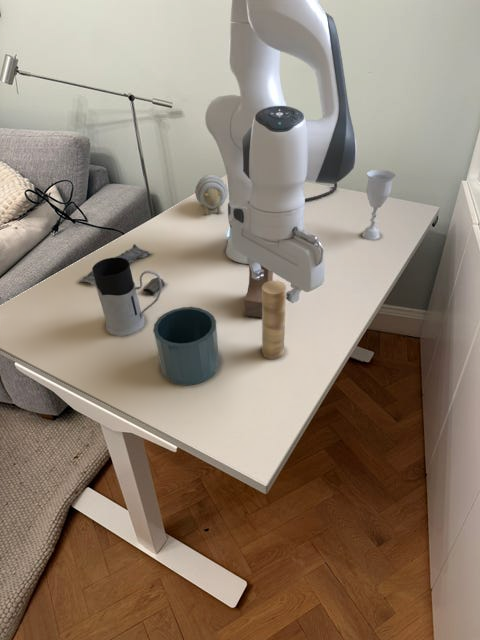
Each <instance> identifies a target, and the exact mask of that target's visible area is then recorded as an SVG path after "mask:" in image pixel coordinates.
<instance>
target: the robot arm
mask: <svg viewBox="0 0 480 640" xmlns="http://www.w3.org/2000/svg"><path fill="white" fill-rule="evenodd" d="M228 40H229V42H228V59H227V60H228V61H227V62H228V63H227V64H228V67H229V69H230V71H231V73H232V75H233V76H234V78H235V80H236V82H237V86H238V90H239V95H237V94H227V95H219V96H217V97H214V98H213V100H211V102H210V103H209V104H208V106H207V108H206V110H205V118H204V119H205V120H204V122H205V126H206V128H207V130H208V133H210V136H212V138H213V139H214V141H215V143H216V145H217V148H218V150H219V153H220V156H221V159H222V162H223V165H224V168H225V173H226V179H227V189H228V201H229V202H228V203H227V218H228V224H229V227H228V231H227V234H226V238H228V240H227V245H226V249H225V254H226V256H227V257H228V258H229V259H230V260H231V261H234V262H236V263H239V264H243V265H244V264H245V265H248V267H249V266H250V268H251V270H252V278H253V279H255V280H257V281H259V280H261V279H263V278H264V275H263V274H264V270H262V269H261V266H263V267H265V268H266V269H268V270H270V271H271V272H273V274H274V275H276V276H278V277H280V278H281V279H283V280H285V281H286V282H288V283H289V284H290V287H291V289H290V290H288V291H286V301H288V302H290V303H291V304H295V303H297V302H298V301H299V300H300V293H301V292H302V291H303V292H306V293H309V292H312V291H314V290H316V289H318V288H319V287H321V286H322V285H323V284H324V282H325V273H326V272H325V270H326V269H325V255H324V252H325V251H324V246H323V245H322V244H321V242H320V241H319V238H318V237H317V236H316V235H314V234H310V233H308V232H306V231H305V230H304V223H305V222H304V221H305V206H306V202H310V201H314V200H318V199H321V198H324V197H327V196H329V195H331V194H333V193H334V192H336V190H337V189H338V183H339V182H340V181H342V180H343V179H345V178H346V176H348V175H349V174H350V173H351V172H352V171H353V169H354V168H355V163H356V160H357V151H358V150H357V148H358V147H357V139H356V135H355V130H354V126H353V121H352V117H351V112H350V107H349V106H350V105H349V100H348V99H349V98H348V92H347V85H346V79H345V78H346V77H345V73H344V71H345V70H344V64H343V56H342V51H341V45H340V38H339V33H338V29H337V25H336V23H335V20H334V17H332V15H330V14H329V13H327V12H325V11H324V9H323V8H322V5H321V4H320V2H319V0H231V8H230V22H229V39H228ZM281 52H282V53H284V54H287V55H290V56H292V57H294V58H296V59H298V60H300V61H302V62H304V63H305V64H307V65H308V66H309V67H310V68H311V69H312V70H313V72H314V74H315V76H316V79H317V81H316V82H317V85H318V93H319V101H320V107H321V113H322V117H321V118H319V119H318V118H317V119H306V116H305V114H304V113H303V112H302V111H301V110H300V109H298V108H295V107H292V106H288V105H287V103H286V100H285V97H284V92H283V88H282V83H281V74H280V73H281V71H280V64H281V63H280V62H281ZM305 182H315V183H319V184H330V185H333V188H332V189H331V190H329V191H326V192H324V193H320V194H317V195H313V196H311V197H307V198H306V197H305V191H304V185H305ZM260 265H261V266H260Z"/></svg>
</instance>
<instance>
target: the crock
mask: <svg viewBox="0 0 480 640" xmlns="http://www.w3.org/2000/svg"><path fill="white" fill-rule="evenodd" d="M217 328H218V327H217V320H216V318H215V316H214V315H213V314H212V313H211V312H209V311H208V310H206V309H203V308H202V307H201V308H200V307H195V306H182V307H178V308H174V309H171V310H169V311H167V312H165V313H163V314H162V315H161V316H159V317H158V318H157V319H156V321H155V323H153V330H152V332H153V336H154V341H155V345H156V351H157V355H158V360H159V364H160V369H161V373H162V375H163V376H164V377H165V379H167V381H169V382H171V383H173V384H176V385H180V386H193V385H199V384H201V383H204V382H206V381H207V380H209V379H211V378H212V377H213V376H214V375H215V374H216V373H217V371H218V370H219V368H220V367H219V366H220V351H219V350H220V349H219V339H218V338H219V337H218V329H217Z"/></svg>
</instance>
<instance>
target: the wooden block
mask: <svg viewBox="0 0 480 640" xmlns="http://www.w3.org/2000/svg"><path fill="white" fill-rule="evenodd" d="M260 266H261V265H260ZM261 269H262V270H264V274H263V275H264V278H263V279H261V280H259V281H257V280H255V279H253V278H252V270H251V268H250V266H249V265H248V271H249V273H248V274H249V276H248V286H247V290H246V291H247V292H246V295H245V297H244V299H243V307H244V315H245V316H247V317H254V318H259V319H262V286H263V284H264V283H266V282H268V281H274V273H273V272H271V271H270V270H268V269H266V268H265V267H263V266H261Z"/></svg>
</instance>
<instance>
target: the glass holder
mask: <svg viewBox="0 0 480 640" xmlns="http://www.w3.org/2000/svg"><path fill="white" fill-rule="evenodd" d="M91 271H93V274H94V278H95V284H94V285H95V288H96V292H97V295H98V298H99V302H100V305H101V309H102V311H103V315H104V319H105V330H106V331H107V333H108V334H111V335H112V336H115V337H124V336H125V337H126V336H130V335H133V334H135V333H137V332H139V331H140V330H141V329H142V328H143V327H144V325H145V323H146V319H145V317H144V315H143V314H144V313H145V312H146V311H148V310H149V309H150V308H151V307H152V306H154V305H155V304H156V303H157V302H158V301H159V299H160V295H161V293H162V289H163V287H162V283H161V279H162V278H161V276H160V275H159V273H158V272H156V271H154V270H144V271H143V272H142V273H141V274H140V276H139V286H136V283H135V281H134V278H133V273H132V269H131V264H130V263H129V262H128V260H126V259H124V258H119V257H117V256H113V257H108V258H104V259H101V260H99V261H98V262H96V263H95V264H94V265H93V266H92V269H91ZM146 274H151V275H154V276H156V278H158V279H159V283H160V290H159V291H158V294H157V296H156V298H155V299H154V300H153V301H152V302H151V303H150V304H148V305H147V306H146V307H145V308H144V309H143V310H141V306H140V301H139V297H138V292H137V290H141V289H142V287H143V276H144V275H146ZM160 278H161V279H160Z"/></svg>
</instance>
